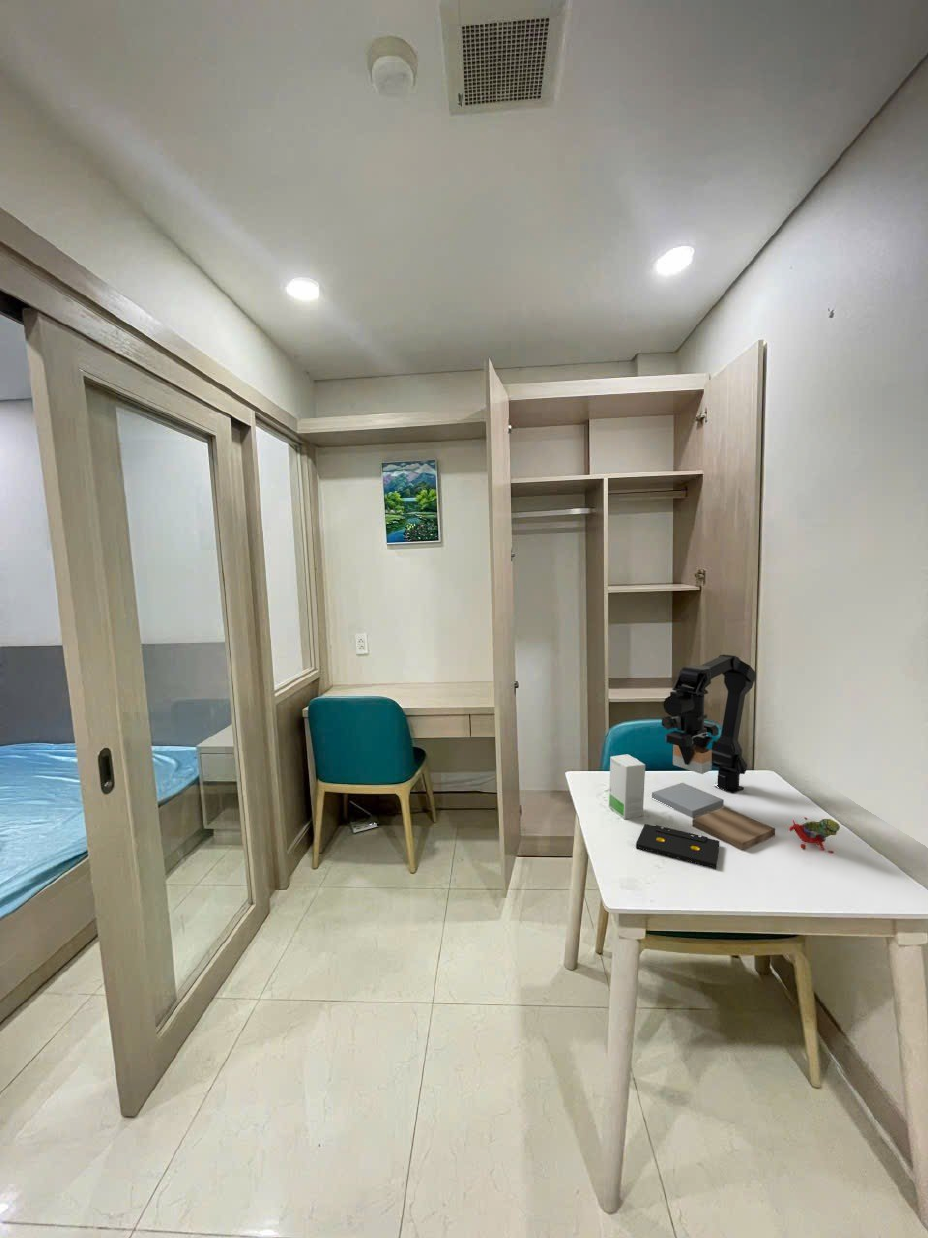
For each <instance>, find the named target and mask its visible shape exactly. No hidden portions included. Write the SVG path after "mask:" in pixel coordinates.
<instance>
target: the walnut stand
mask: <svg viewBox="0 0 928 1238" xmlns="http://www.w3.org/2000/svg"><path fill="white" fill-rule="evenodd" d="M692 827H694V828H696V829H697V830H699V831H701V832H703V833H705V834H708V835H709V836H711V837H714V838H715V839H716V840H718V841H721V842H724V843H726V844H728V845H730V846H732V847H733V848H736V849H738V850H740V851H742V852H744V851H745V850H747V849H750V848H752V847H753V846H756V845H758V844H760V843H762V842H764V841H767V840H769V839H771V838H774V837H775V836H776V828H775V827H774V826H770V825H768V824H766V823H763V822H761V821H760V820H756V819H754V818H752V817H750V816H747V815H745V814H743V813H740V812H737V811H735V810H733V809H731V808H728V807H726V806H723V807H720V808H717V809H715V810H712V811H709V812H707V813H704V814H701V815H699V816H696V817H693V818H692Z"/></svg>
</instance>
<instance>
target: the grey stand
mask: <svg viewBox="0 0 928 1238" xmlns="http://www.w3.org/2000/svg"><path fill="white" fill-rule="evenodd" d="M652 798H654V799H656V800H658V801H660V802H662V803H664V804H666V805H668V806H670V807H672V808H674V809H673V810H674V811H677V812H679V813H681V814H683V815H685V816H687V817H690V818H691V819H694V818H697V817H700V816H702V815H705V814H707V813H710V812H713V811H715V810H718V809H721V808H723V807H725V806H724V804H725V802H724V799H723V798H721V797H719V796H716V795H715V794H714V795H713V794H712V793H709V792H706V791H703V790H701V789H699V788H696V787H694V786H692V785H690V784H687V783H684V782H681V783H676V784H674V785H671V786H670V785H669V786H668V787H665V788H662V789H659V790H654V791H652V792H651V799H652ZM656 800H655V801H656ZM658 801H657V802H658ZM660 802H659V803H660ZM662 803H661V804H662ZM664 804H663V805H664ZM666 805H665V806H666ZM668 806H667V807H668ZM722 806H723V807H722ZM670 807H669V808H670ZM672 808H671V809H672Z"/></svg>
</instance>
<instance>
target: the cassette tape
mask: <svg viewBox="0 0 928 1238" xmlns="http://www.w3.org/2000/svg"><path fill="white" fill-rule="evenodd" d="M720 841H721V840H719V839H713V838H709V837H708V836H705V835H702V834H701V835H700V834H696V833H691V832H687V831H683V830H679V829H674V828H670V827H667V826H666V827H665V826H663V825H662V826H661V825H657V824H656V825H653V824H648V823H644V825H643V828H642V829H641V832H640V834H639V835H638V838H637V840H636V843H635V849H636V850H639V851H643V852H646V853H652V854H654V855H659V856H663V857H667V858H670V859H673V860H677V861H682V862H685V863H690V864H694V865H698V866H701V867H705V868H709V869H713V870H717V867H718V866H717V865H718V859H719V852H720Z"/></svg>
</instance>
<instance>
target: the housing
mask: <svg viewBox="0 0 928 1238" xmlns="http://www.w3.org/2000/svg"><path fill="white" fill-rule="evenodd" d="M672 745H673V746H672V747H673V748H672V750H673V751H672V765H673V766H675V767H679V768H681V769H685V770H688V771H691V772H694V773H697V774H700V775H704V774H706V773H708V772H710V771H712V750H711V748H703V747H700V746H696V747H695V750H694V753H693V755H692V758H691V761H690V763H689V765H686V764H685V763H684V760H683V757H682V754H681V751H680V749H679V747H678V746H677V745H674V744H672Z"/></svg>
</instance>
